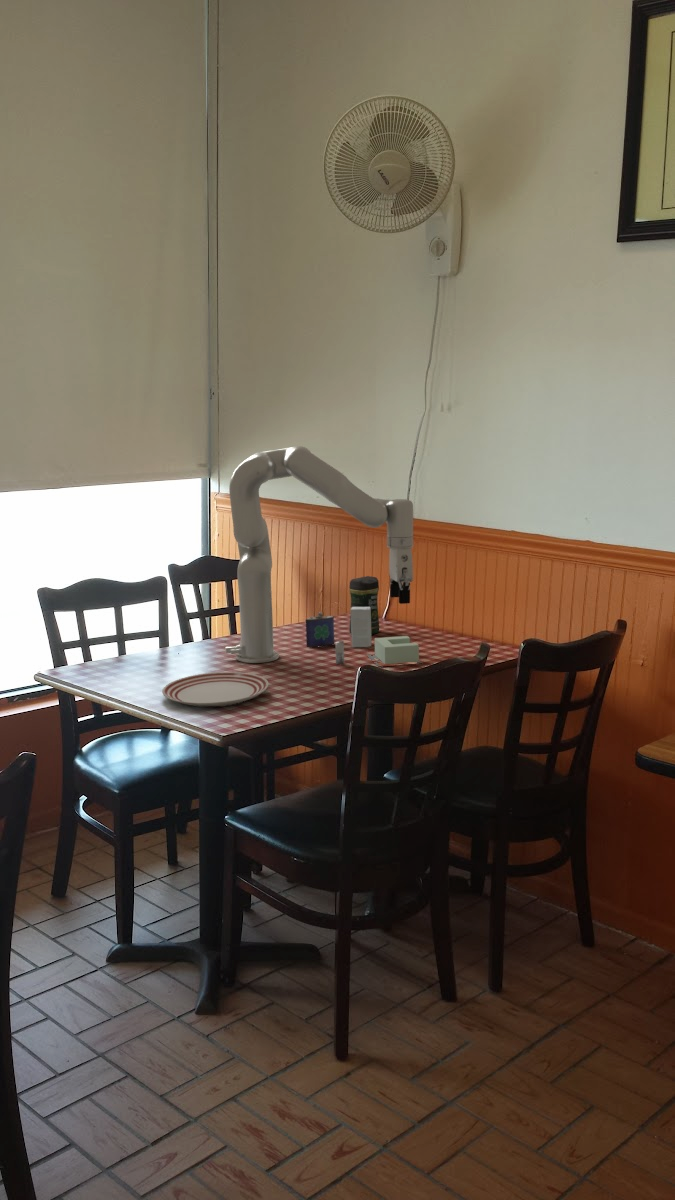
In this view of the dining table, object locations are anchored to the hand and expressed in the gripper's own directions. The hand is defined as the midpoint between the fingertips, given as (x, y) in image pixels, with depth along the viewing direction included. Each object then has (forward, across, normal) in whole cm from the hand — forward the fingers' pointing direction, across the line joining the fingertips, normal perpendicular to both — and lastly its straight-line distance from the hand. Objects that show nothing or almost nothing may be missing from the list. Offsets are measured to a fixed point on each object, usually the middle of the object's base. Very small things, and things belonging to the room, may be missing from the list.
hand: (399, 600), depth 313 cm
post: (+17, -5, +19) cm, 26 cm away
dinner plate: (+18, -28, +57) cm, 66 cm away
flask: (+17, +18, +20) cm, 32 cm away
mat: (+17, -5, +3) cm, 18 cm away
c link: (+16, -5, +3) cm, 17 cm away
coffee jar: (+17, +31, +3) cm, 35 cm away
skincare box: (+17, +14, +8) cm, 24 cm away
